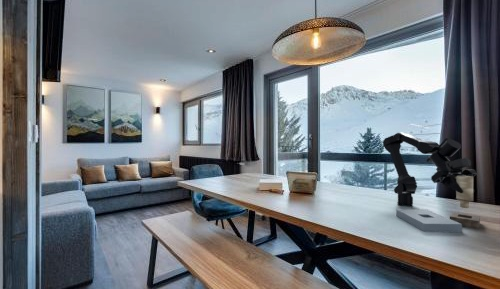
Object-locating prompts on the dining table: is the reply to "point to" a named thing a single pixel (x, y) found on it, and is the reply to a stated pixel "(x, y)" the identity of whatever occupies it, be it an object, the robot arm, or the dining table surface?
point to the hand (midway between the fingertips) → (468, 192)
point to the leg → (465, 190)
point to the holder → (466, 219)
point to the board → (428, 220)
